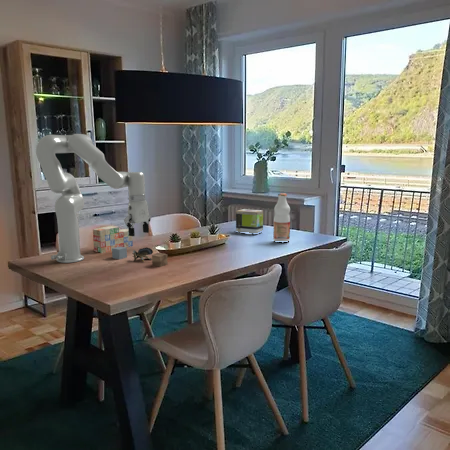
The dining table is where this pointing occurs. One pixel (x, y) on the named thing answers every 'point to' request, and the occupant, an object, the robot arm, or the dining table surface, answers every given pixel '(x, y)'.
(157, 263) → the walnut block
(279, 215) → the fruit juice
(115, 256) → the slate grey block
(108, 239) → the stack of blocks
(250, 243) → the dining table surface
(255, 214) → the tea box
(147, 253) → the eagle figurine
